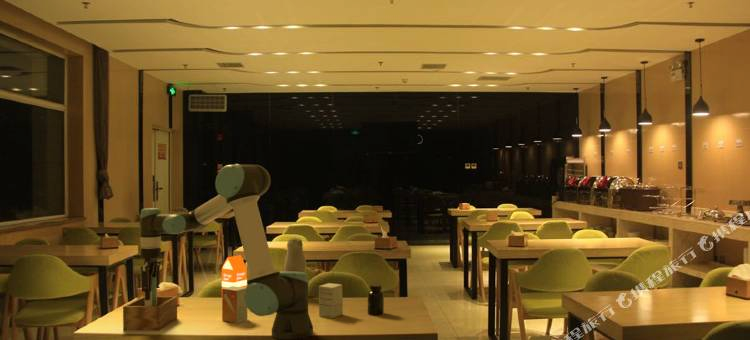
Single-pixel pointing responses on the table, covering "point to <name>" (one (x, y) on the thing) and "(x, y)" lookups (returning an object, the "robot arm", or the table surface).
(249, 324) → the table surface
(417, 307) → the table surface
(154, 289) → the peg
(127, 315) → the crate
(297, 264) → the beige tapered cylinder
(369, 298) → the supplement bottle
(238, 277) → the orange juice
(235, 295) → the small box
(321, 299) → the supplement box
